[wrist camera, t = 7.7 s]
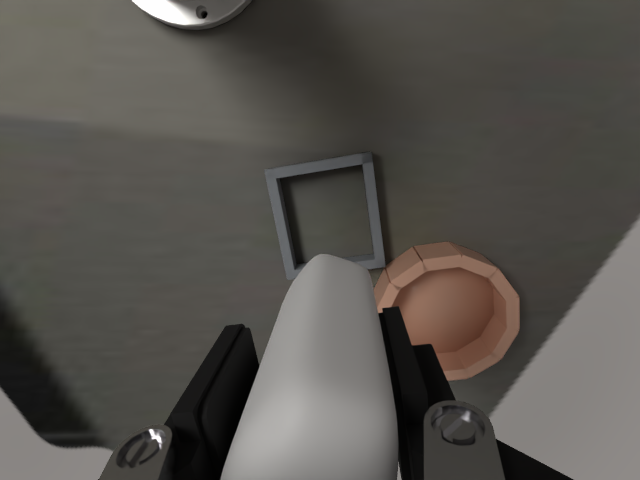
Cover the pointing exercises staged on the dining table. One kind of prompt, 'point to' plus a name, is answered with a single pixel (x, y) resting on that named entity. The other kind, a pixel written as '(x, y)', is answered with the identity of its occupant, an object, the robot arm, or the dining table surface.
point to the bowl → (452, 305)
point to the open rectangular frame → (315, 166)
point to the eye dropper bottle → (321, 386)
